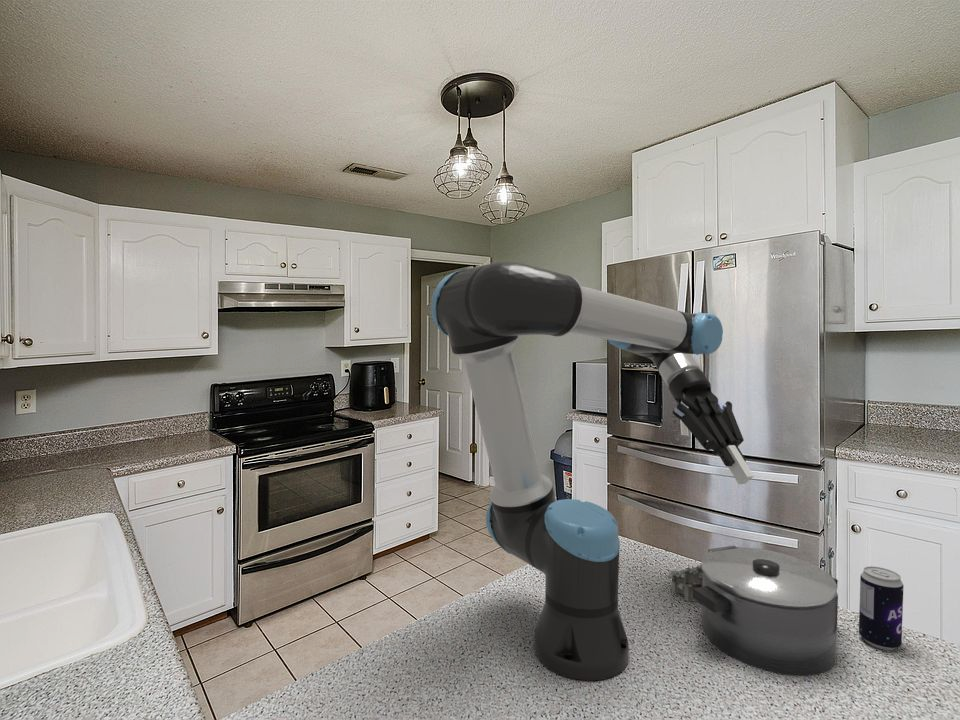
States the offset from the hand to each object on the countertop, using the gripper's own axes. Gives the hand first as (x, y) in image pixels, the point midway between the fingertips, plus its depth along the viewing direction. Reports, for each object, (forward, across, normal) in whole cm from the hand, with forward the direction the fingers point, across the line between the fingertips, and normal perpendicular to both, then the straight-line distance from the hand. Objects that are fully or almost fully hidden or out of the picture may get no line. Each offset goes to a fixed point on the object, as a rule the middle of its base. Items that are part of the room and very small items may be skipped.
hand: (746, 480), depth 92 cm
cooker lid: (+14, 0, -8) cm, 16 cm away
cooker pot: (+22, 0, -15) cm, 26 cm away
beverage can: (+27, -17, -10) cm, 33 cm away
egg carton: (+10, 0, -28) cm, 29 cm away
